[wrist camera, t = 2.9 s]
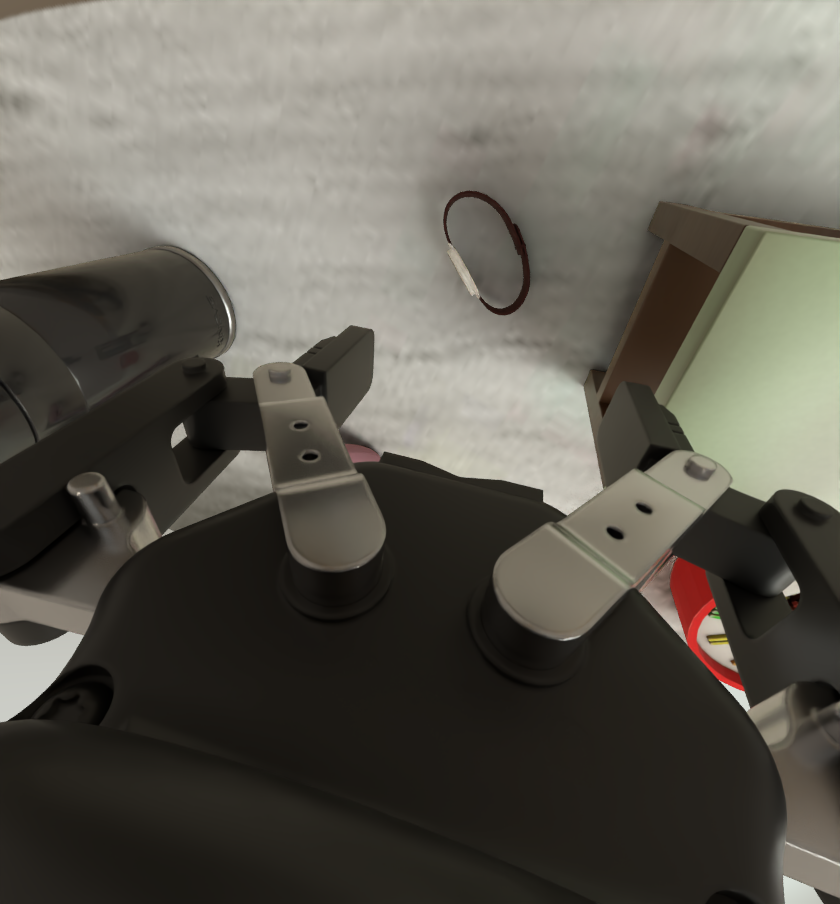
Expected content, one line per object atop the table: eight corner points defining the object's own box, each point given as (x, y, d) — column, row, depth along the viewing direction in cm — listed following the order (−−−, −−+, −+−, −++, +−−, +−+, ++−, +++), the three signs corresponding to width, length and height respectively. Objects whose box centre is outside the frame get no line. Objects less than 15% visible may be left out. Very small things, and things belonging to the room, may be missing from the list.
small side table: (583, 386, 30) (606, 508, 19) (659, 200, 22) (765, 230, 12) (768, 425, 28) (907, 582, 17) (916, 237, 20) (1315, 309, 10)
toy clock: (1150, 590, 22) (909, 729, 34) (1046, 518, 27) (866, 662, 38) (746, 536, 27) (656, 675, 38) (716, 482, 31) (644, 620, 43)
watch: (429, 218, 26) (415, 224, 23) (492, 167, 23) (486, 167, 20) (486, 320, 28) (479, 337, 26) (547, 284, 26) (548, 299, 23)
